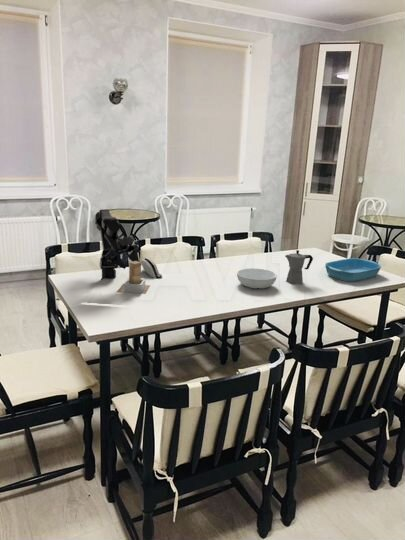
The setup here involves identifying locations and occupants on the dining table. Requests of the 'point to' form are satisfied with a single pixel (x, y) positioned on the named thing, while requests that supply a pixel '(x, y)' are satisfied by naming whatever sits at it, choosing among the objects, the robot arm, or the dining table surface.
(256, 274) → the serving bowl
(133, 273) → the oak block
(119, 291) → the walnut board
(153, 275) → the grey napkin holder
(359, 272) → the casserole dish
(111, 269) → the robot arm
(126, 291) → the steel end cap
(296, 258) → the coffeepot
